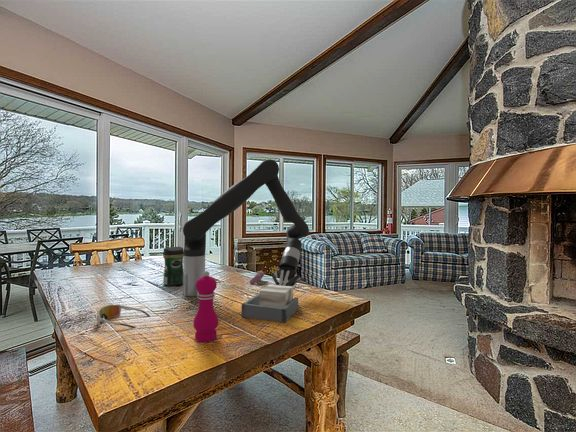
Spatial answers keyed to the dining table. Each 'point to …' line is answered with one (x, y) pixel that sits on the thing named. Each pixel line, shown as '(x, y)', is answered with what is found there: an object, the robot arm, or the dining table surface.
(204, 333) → the pepper mill
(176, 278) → the coffee jar
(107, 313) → the sunglasses
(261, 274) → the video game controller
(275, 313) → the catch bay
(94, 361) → the dining table surface
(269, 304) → the cream block
